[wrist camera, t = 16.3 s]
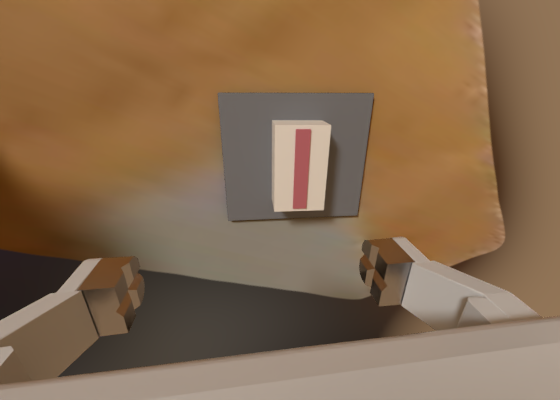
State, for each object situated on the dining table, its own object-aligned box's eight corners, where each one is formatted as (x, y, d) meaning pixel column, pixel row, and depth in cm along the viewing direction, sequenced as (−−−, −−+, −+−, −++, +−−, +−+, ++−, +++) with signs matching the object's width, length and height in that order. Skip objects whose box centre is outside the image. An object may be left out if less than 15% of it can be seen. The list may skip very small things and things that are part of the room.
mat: (228, 218, 37) (228, 220, 36) (218, 92, 30) (217, 93, 30) (355, 212, 39) (357, 215, 38) (371, 93, 32) (373, 93, 31)
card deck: (272, 120, 31) (275, 125, 28) (322, 120, 32) (331, 125, 28) (271, 198, 36) (274, 212, 32) (316, 197, 36) (324, 210, 32)
